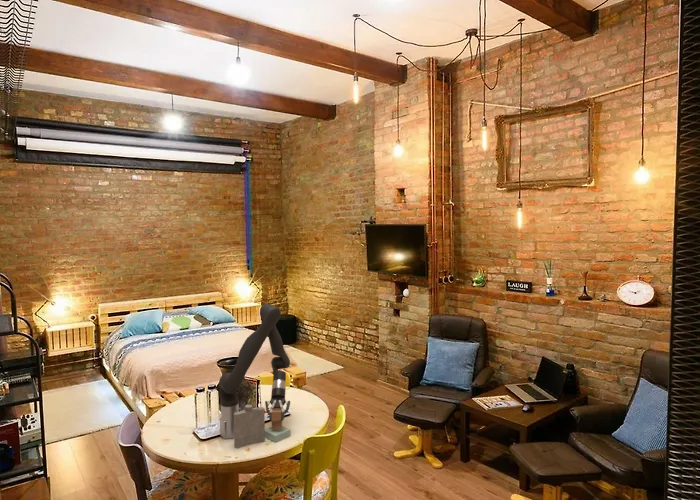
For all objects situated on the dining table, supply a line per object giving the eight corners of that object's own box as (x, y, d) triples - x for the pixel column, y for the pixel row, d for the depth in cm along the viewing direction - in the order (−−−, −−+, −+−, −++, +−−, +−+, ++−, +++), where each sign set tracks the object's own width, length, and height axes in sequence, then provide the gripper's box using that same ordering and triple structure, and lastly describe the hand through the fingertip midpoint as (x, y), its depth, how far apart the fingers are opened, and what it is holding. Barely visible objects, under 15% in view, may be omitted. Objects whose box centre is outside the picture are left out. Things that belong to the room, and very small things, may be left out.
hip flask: (235, 448, 234) (234, 410, 232) (233, 445, 237) (232, 407, 236) (265, 441, 241) (265, 404, 240) (263, 438, 245) (262, 401, 244)
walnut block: (281, 428, 244) (281, 411, 244) (271, 428, 244) (271, 412, 243) (282, 424, 249) (281, 408, 249) (272, 424, 249) (272, 408, 248)
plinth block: (275, 443, 240) (275, 436, 240) (263, 437, 247) (263, 430, 246) (290, 436, 247) (290, 429, 247) (278, 431, 254) (278, 423, 254)
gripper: (264, 387, 252) (262, 418, 241) (291, 386, 253) (289, 417, 242) (266, 393, 258) (263, 423, 247) (292, 392, 259) (290, 422, 248)
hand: (276, 420), depth 245 cm, fingers closed on walnut block, 5 cm apart
